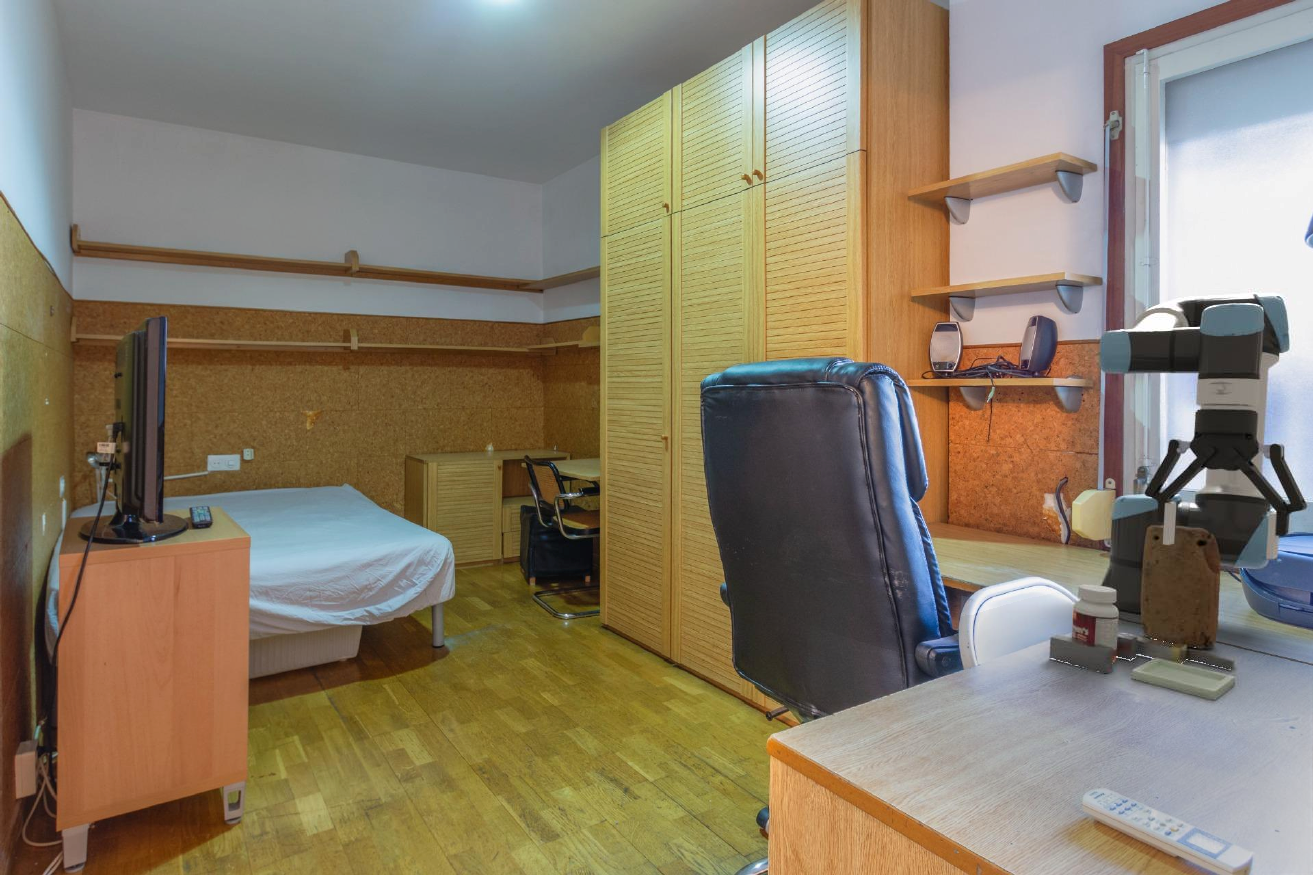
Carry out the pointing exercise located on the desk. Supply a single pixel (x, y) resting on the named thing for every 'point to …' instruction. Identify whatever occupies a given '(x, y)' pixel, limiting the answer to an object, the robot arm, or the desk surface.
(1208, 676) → the tray
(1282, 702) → the desk surface
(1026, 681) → the desk surface
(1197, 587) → the block
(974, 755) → the desk surface
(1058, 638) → the socket
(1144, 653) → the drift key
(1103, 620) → the pill bottle
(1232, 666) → the rail
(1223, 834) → the desk surface
